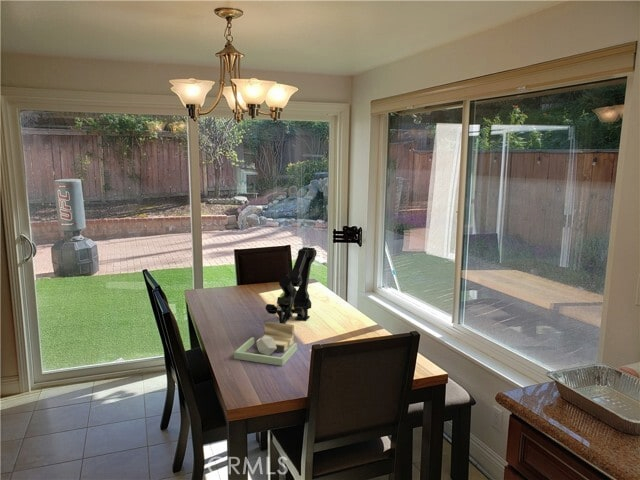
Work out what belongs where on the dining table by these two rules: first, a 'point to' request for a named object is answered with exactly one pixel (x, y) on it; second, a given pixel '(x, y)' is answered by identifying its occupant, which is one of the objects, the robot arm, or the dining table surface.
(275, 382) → the dining table surface
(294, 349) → the fence
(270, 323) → the block
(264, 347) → the die
